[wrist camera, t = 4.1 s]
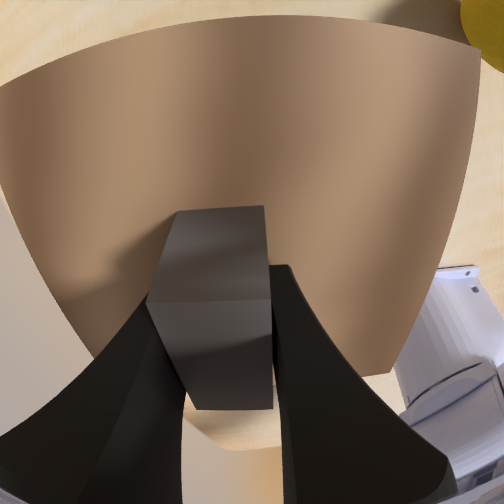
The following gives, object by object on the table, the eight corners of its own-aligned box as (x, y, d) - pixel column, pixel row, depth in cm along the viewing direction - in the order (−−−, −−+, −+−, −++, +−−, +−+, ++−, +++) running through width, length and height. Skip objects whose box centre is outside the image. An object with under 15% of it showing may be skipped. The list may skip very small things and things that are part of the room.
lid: (465, 47, 6) (573, 76, 2) (385, 360, 15) (405, 430, 11) (-8, 94, 6) (-102, 143, 3) (114, 369, 15) (97, 436, 12)
